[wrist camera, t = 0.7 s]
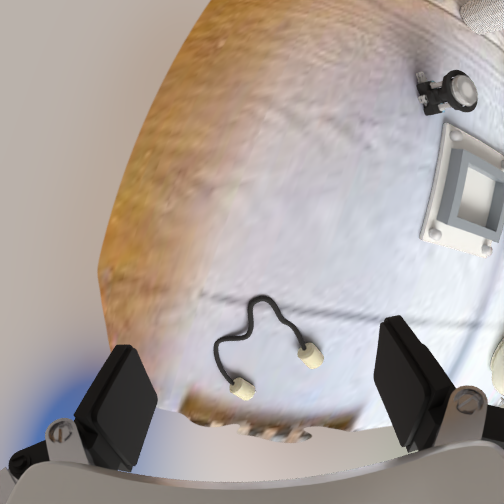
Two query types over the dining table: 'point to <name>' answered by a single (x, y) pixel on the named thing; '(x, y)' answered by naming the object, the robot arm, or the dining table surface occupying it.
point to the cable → (239, 385)
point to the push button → (447, 93)
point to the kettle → (498, 369)
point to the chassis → (465, 195)
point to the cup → (483, 15)
